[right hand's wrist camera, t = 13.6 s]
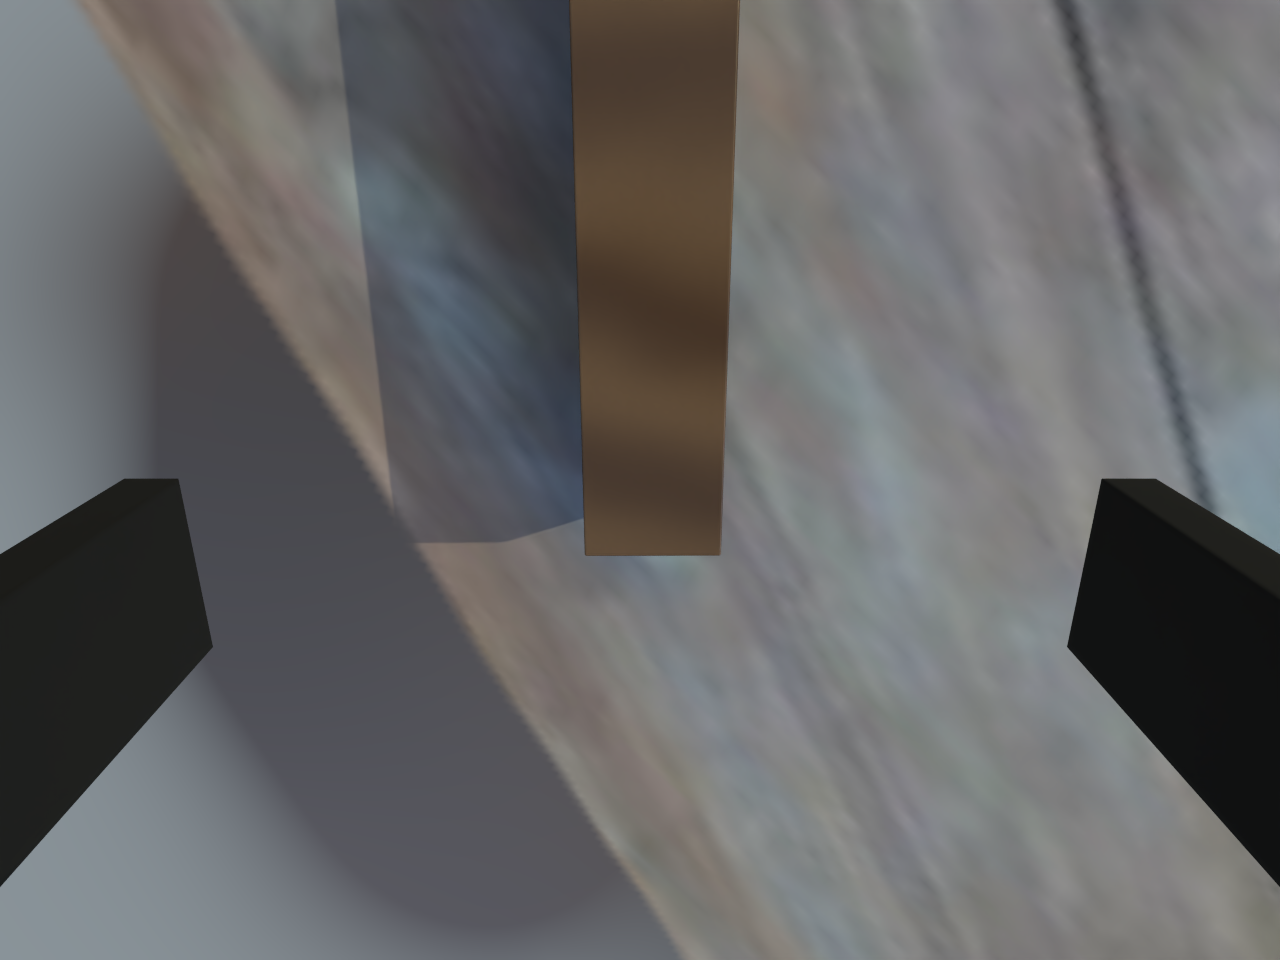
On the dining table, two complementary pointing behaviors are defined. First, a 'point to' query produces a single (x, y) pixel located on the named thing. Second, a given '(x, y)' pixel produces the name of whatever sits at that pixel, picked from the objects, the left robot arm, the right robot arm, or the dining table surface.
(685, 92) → the post
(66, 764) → the right robot arm
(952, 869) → the dining table surface
